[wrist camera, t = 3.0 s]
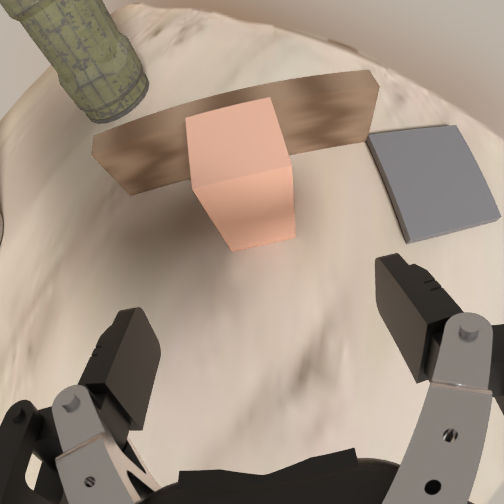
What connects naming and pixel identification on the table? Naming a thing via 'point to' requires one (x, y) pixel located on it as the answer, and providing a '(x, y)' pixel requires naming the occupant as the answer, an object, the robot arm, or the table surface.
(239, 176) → the marked block
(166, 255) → the table surface
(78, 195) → the table surface
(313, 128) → the walnut screen
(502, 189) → the table surface
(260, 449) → the table surface
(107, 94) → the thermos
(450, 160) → the charcoal mat
